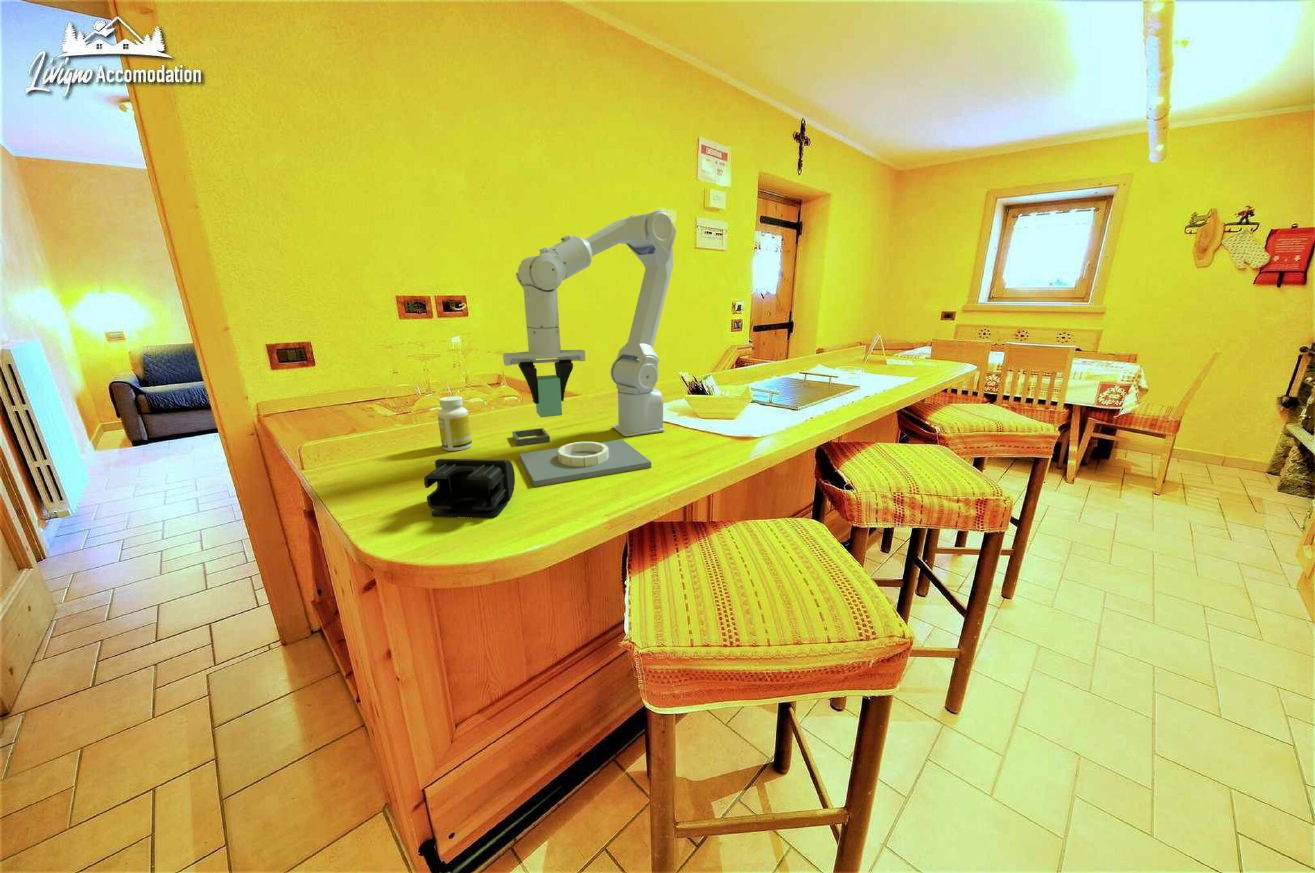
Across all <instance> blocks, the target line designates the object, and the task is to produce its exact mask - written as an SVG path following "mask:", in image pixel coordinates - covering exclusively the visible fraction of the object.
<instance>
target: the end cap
mask: <svg viewBox="0 0 1315 873" xmlns="http://www.w3.org/2000/svg"><path fill="white" fill-rule="evenodd" d="M434 463H435V469H433V470H432V471H431V472H429V473H428V474H427V475H425V476H424V478H423V481H424V482H423V484H424V487H425V488H426V489H429V488H430V487H431V486H433V485H434V484H435V483H436V484H437V486H436V489H435V490H433V491H432V492H430V493H429V494H428V495H427V496H426V501H427V505H428V507H429V508H430V509H432V510H431V517H432V518H433V517H434V518H458V517H465V519H495V517H496V518H497V517H498V516H499V515H500V514H501V513H502V512H503V510H504V509H505V508H506V507H507V506H508V503H509V502H510V501H511V499H512V497H513V494H514V491H515V483H516V480H515V479H516V475H515V474H516V473H515V468H514V465H513V463H512V462H511V461H510V460H508V459H484V458H483V459H478V458H477V459H476V458H474V459H473V458H469V459H468V458H438V459H436V460H435V461H434ZM466 517H467V518H466ZM468 517H469V518H468ZM471 517H472V518H471Z"/></svg>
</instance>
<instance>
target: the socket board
mask: <svg viewBox="0 0 1315 873" xmlns="http://www.w3.org/2000/svg"><path fill="white" fill-rule="evenodd" d="M519 460H520V461H521V464H522V466H523V468H524V470H525V471H526V474H527V475H528V477H529V479H530V481H531V483H532V485H533V487H534V488H537V487H542V486H548V485H554V484H560V483H567V482H572V481H577V480H584V479H590V478H591V479H592V478H596V477H602V476H607V475H613V474H620V473H627V472H631V471H637V470H643V469H645V470H646V469H649V468H652V461H651V460H650V459H648V458H647V457H646V456H645V455H643V454H642V453H641V452H640V451H638V450H636V448H634V447H633V446H632V445H631V444H629V443H628V442H626V441H625V440H624V439H615V440H609V441H608V440H607V441H601V442H597V441H577V442H571V443H567V444H564V445H562V446H560V447H558V448H551V449H544V450H537V451H536V450H535V451H529V452H521V453H519Z"/></svg>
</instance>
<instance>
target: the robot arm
mask: <svg viewBox="0 0 1315 873" xmlns="http://www.w3.org/2000/svg"><path fill="white" fill-rule="evenodd" d="M676 234H677V229H676V227H675V225H674V223H673V221H672V218H671V216H670V215H669V214H668V213H667V212H666V211H665V210H662V209H657V210H654V211H652V212H646V213H642V214H637V215H630V216H627V217H625V218H621V219H617V220H615V221H613V222H612V223H609V224H608V225H606V226H604V227H603V228H601V229H599V230H598V231H595V233H592V234H591V235H589V236H587V237H585V238H581V237H579V236H578V235H573V236H571V235H570V234H567V235H564V236H562V237H560V240H561V241H560V242H559V243H556V244H554V245H553V246H552V245H551V246H550V247H549V248H548V247H542V248H540V249H539V250H538V252H539V254H538V255H533V256H528V257H525V258H524V259H522V260H521V262H520V264H519V265H518V267H517V268H518V269H517V272H515V276H516V280H517V281H518V284H519V285H520V286H521V288H522V289H523V297H524V298H523V299H524V301H523V302H524V313H525V324H526V334H527V347H528V351H517V352H509V353H502V359H503V361H502V362H503V365H504V366H515V365H518V367H519V370H520V371H521V372H522V375H523V377H524V378H525V381H526V383H527V385H528V387H529V391H530V394H531V398H532V402H533V403H534V404H535V405H536V404H538V403H539V398H538V390H537V376H538V375H537V373H538V371H537V370H538V369H537V368H536V365H535V364H546V363H547V364H549V363H554V364H553V365H554V369H555V375H556V376H557V377H559V378H560V388H561V402H564V401H565V392H566V389H567V384H568V381H569V378H570V376H571V373H572V371H573V368H574V363H573V362H586V351H585V349H561V335H560V333H561V332H560V318H559V314H560V313H559V303H558V302H559V301H558V299H559V298H558V288H559V287H560V286H561V285H562V282H563V281H565V280H567V279H569V278H571V277H573V276H574V275H576V274H578V273H579V272H581V271H583V270H585V269H587V268H589V267H590V265H591V264H592V260H593V257H595V256H596V255H598V254H600V253H602V252H605V251H606V250H608V249H611V248H613V247H614V246H617V245H618V244H621V245H624V244H625V245H626V246H627V248H628V249H630V251H631V252H632V253H633V254H634V255H635V256H636V257H637V258H638V259H639V261H640V262H641V263H642V265H643V267H644V274H643V277H642V282H641V285H640V290H639V292H638V293H639V294H638V297H637V302H636V306H635V307H636V308H635V310H634V315H633V319H632V323H631V327H630V332H629V336H628V340H627V343H625V344H624V345H623V346H622V347H621V348H620V349H619V351H618V354H617V356H616V359H614V362H612V364H611V366H610V378H611V380H612V381H613V383H615V385H616V386H615V388H616V389H617V413H618V415H617V417H618V419H617V421H618V424H613V425H612V427H611V428H612V429H614V430H615V431H617V432H618V433H620V434H621V435H622V436H623V437H630V436H631V437H632V436H638V435H645V434H652V433H653V434H654V433H659V432H661V433H662V432H665V430H666V429H665V428H664V399H663V395H662V392H661V391H660V389H658V388H655V387H656V385H657V383H658V381H659V367H658V366H659V361H660V359H659V358H660V357H659V356H658V354H657V353H656V351H655V350H654V346H655V343H656V342H655V341H656V337H657V334H658V330H659V326H660V322H661V318H662V313H663V309H664V306H665V305H664V304H665V301H666V297H667V293H668V289H669V284H670V281H671V277H672V274H673V273H672V272H673V269H674V251H673V250H674V248H673V247H674V243H675V240H676V239H675V238H676Z"/></svg>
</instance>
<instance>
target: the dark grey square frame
mask: <svg viewBox="0 0 1315 873" xmlns="http://www.w3.org/2000/svg"><path fill="white" fill-rule="evenodd" d="M536 435H538V436H536ZM539 435H541V436H539ZM511 436H512V438H513V441H514V442H515V443H516V446H517V447H519V446H525V445H534V444H541V443H549V442H551V439H550V438H551V437H550V434H549V433H548V432H547V431H546V430H545V429H544V427H538V428H532V429H531V428H530V429H522V430H514V431H512V435H511ZM528 436H529V437H528ZM530 436H531V437H530ZM532 436H534V437H532ZM522 437H525V438H522Z"/></svg>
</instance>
